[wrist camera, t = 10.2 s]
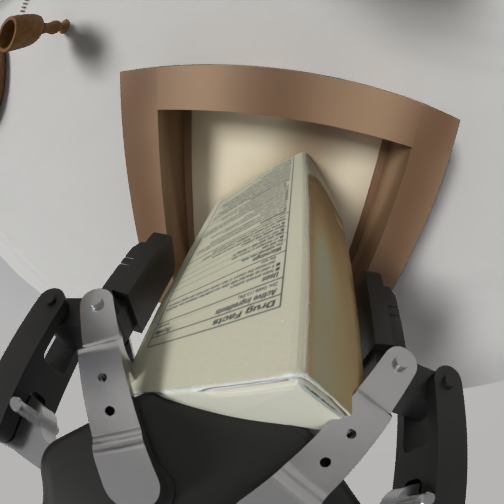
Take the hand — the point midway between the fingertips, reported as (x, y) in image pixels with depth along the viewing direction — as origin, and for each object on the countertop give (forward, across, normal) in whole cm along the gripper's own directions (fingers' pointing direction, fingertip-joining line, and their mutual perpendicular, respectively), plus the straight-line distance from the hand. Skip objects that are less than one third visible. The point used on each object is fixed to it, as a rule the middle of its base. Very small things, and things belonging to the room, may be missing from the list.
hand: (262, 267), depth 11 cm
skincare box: (+6, 0, 0) cm, 6 cm away
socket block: (+7, 0, 0) cm, 7 cm away
